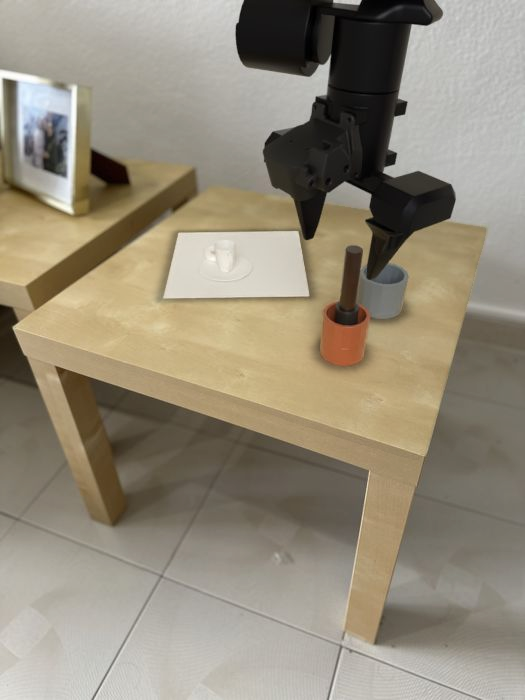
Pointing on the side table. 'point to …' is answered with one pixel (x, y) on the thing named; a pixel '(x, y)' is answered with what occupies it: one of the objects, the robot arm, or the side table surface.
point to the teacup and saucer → (237, 265)
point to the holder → (343, 337)
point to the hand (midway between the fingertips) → (338, 257)
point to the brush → (349, 287)
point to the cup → (383, 291)
